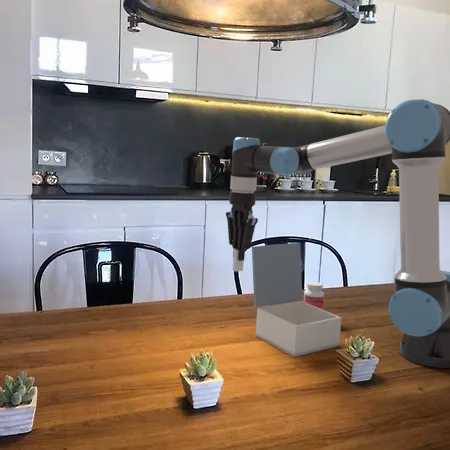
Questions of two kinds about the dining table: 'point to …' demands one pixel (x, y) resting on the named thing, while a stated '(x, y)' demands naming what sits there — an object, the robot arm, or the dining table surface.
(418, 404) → the dining table surface
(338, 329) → the box
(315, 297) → the pill bottle
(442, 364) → the robot arm
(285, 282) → the lid
